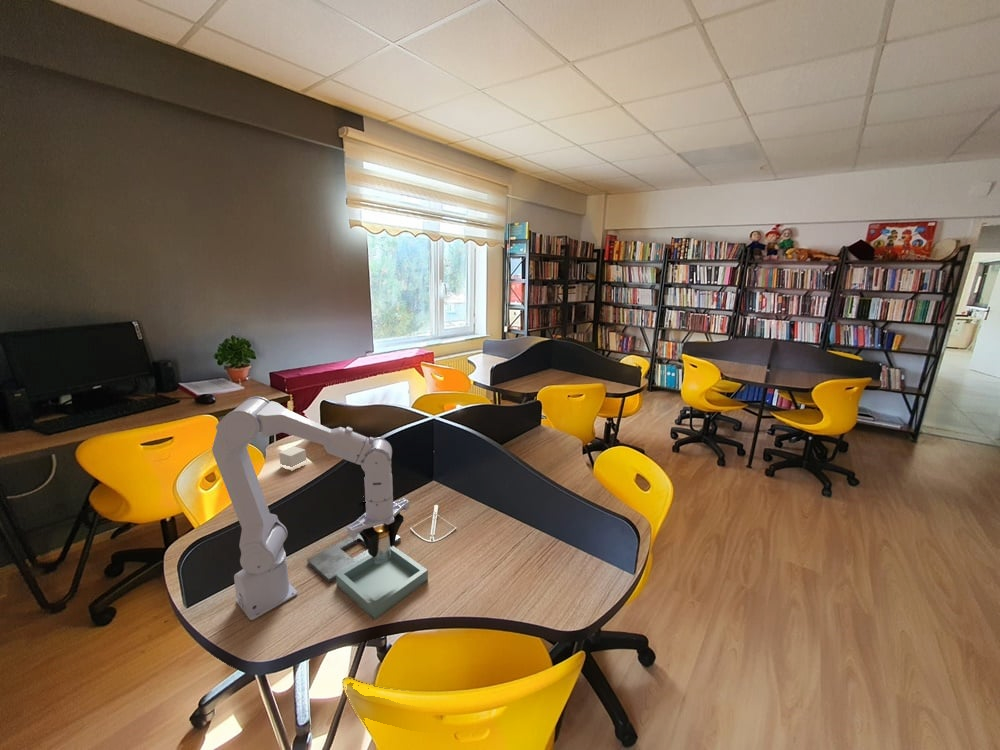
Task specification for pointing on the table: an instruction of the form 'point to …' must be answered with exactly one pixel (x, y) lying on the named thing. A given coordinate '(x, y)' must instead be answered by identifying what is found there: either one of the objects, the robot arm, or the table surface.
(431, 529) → the crossbow
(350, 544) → the bracket
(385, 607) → the tray
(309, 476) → the table surface
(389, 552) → the orange-capped cylinder
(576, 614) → the table surface
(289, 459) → the light grey cube
